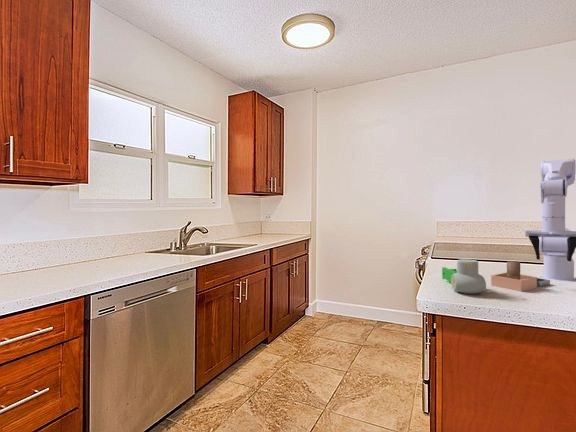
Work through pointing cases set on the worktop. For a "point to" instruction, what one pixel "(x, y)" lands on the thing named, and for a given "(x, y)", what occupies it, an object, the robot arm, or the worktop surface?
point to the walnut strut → (513, 270)
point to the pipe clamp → (448, 273)
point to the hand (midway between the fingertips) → (553, 259)
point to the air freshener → (468, 277)
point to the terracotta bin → (514, 282)
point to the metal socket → (542, 282)
